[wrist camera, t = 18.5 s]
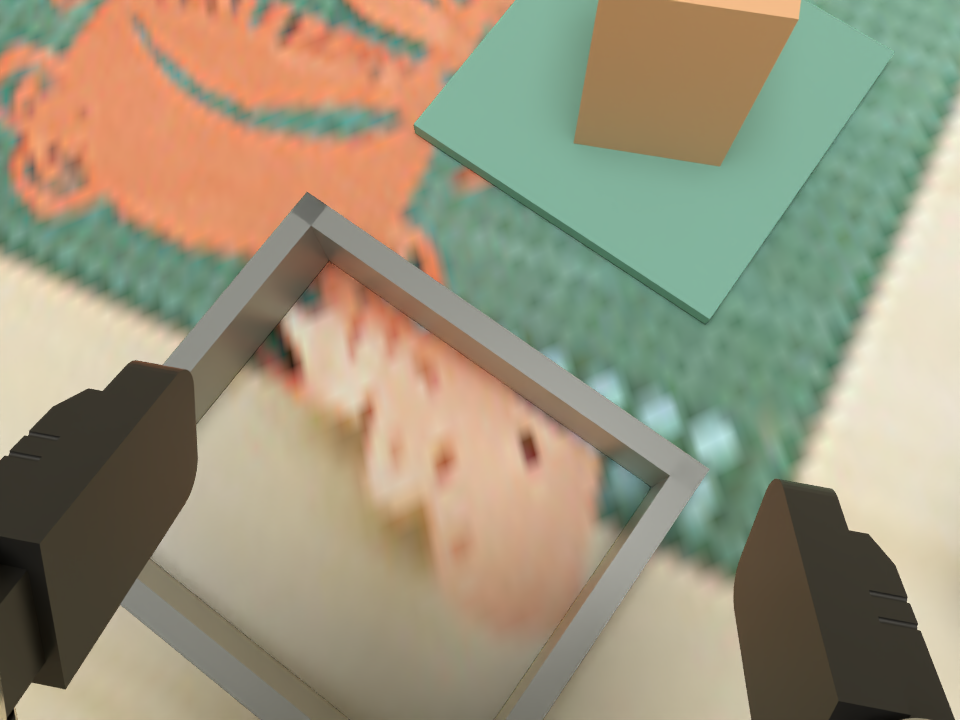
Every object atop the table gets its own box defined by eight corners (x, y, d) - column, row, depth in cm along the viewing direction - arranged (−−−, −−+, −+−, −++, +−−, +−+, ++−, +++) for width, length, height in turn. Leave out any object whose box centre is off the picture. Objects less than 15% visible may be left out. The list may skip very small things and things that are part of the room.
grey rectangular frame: (75, 533, 28) (26, 527, 25) (325, 229, 30) (307, 191, 27) (449, 837, 25) (443, 869, 22) (687, 481, 28) (709, 469, 25)
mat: (415, 133, 31) (413, 124, 30) (606, -102, 33) (608, -114, 33) (705, 324, 29) (709, 319, 28) (887, 61, 31) (895, 51, 31)
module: (573, 143, 30) (600, -11, 22) (595, 17, 31) (628, -170, 24) (719, 166, 30) (798, 19, 22) (736, 38, 31) (816, -145, 23)
